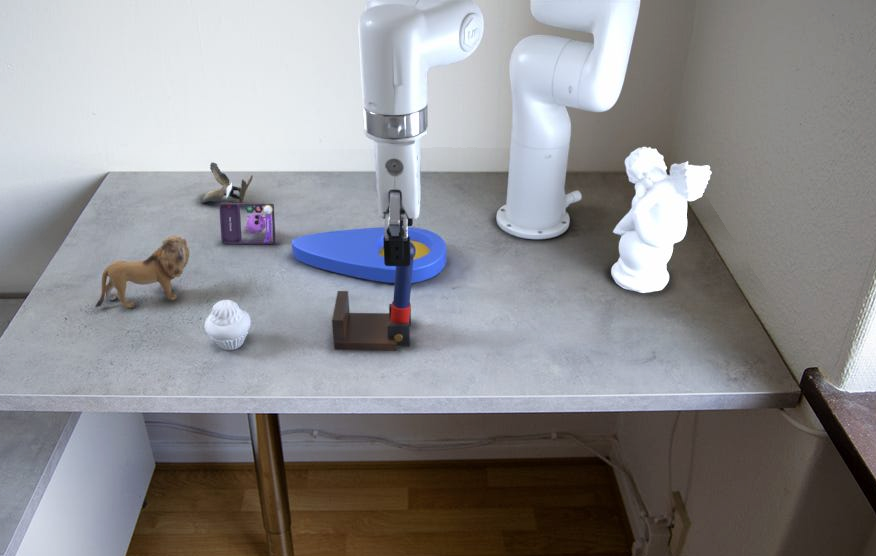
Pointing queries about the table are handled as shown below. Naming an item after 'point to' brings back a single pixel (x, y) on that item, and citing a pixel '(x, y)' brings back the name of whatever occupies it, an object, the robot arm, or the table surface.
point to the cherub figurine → (654, 218)
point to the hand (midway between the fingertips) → (399, 244)
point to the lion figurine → (147, 271)
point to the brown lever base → (366, 328)
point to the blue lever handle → (402, 291)
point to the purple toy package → (254, 224)
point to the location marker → (369, 253)
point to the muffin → (228, 325)
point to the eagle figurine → (224, 187)
